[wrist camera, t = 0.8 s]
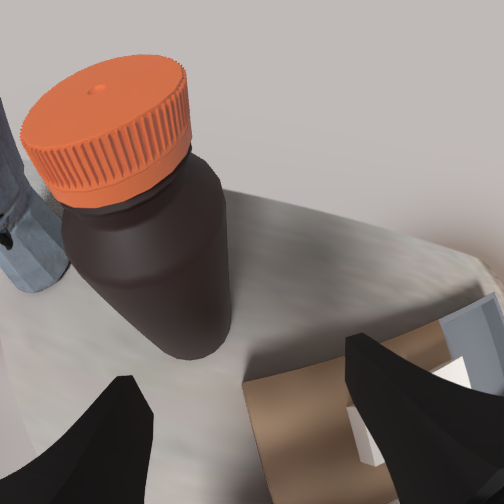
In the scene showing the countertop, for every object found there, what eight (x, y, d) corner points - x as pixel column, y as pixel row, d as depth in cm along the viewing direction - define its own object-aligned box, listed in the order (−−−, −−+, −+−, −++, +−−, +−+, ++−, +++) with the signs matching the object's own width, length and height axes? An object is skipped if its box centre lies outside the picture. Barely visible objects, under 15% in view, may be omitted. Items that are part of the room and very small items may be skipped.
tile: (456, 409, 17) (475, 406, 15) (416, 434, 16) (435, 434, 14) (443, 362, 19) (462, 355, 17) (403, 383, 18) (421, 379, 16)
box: (509, 402, 19) (525, 398, 17) (455, 447, 18) (472, 447, 15) (479, 301, 25) (494, 291, 23) (422, 328, 24) (438, 319, 22)
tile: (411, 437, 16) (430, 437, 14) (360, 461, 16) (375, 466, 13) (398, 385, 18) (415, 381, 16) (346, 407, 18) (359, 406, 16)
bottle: (214, 272, 26) (189, 31, 8) (244, 343, 23) (269, 117, 5) (141, 297, 24) (18, 89, 7) (164, 372, 21) (-33, 229, 4)
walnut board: (453, 448, 18) (472, 449, 15) (280, 526, 15) (285, 540, 12) (420, 329, 24) (438, 319, 21) (241, 385, 21) (242, 382, 18)
